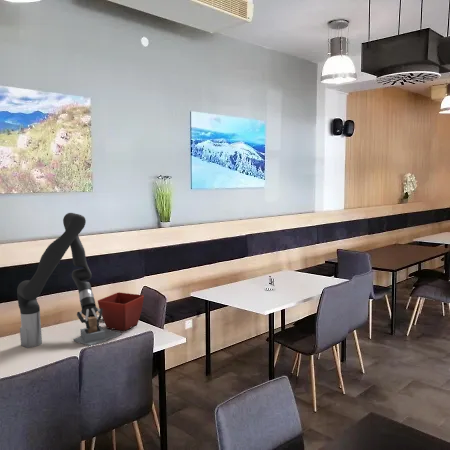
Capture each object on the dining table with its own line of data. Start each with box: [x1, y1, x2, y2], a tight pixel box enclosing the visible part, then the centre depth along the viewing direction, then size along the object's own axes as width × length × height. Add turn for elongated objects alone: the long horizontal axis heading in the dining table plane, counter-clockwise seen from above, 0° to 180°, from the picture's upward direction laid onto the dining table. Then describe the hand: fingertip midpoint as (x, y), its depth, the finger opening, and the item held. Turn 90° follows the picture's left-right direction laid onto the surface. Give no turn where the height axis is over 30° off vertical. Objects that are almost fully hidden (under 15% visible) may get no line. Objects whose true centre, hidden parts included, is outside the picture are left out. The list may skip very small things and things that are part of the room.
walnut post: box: [88, 316, 97, 333], centre depth 237 cm, size 4×4×9 cm
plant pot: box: [97, 291, 145, 332], centre depth 257 cm, size 19×19×17 cm
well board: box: [73, 325, 122, 347], centre depth 240 cm, size 20×14×5 cm
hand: (93, 327), depth 236 cm, fingers closed on walnut post, 3 cm apart
